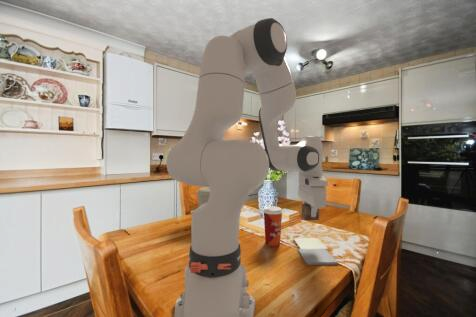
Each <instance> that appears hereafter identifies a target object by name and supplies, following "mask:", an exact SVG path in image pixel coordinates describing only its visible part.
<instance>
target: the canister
mask: <svg viewBox="0 0 476 317" xmlns="http://www.w3.org/2000/svg"><path fill="white" fill-rule="evenodd" d="M195 193H196V194H197V195H196V196H197V202H198V203H197V204H198V207H199V206H201V205H202V204H204V203H206V202H208V199H209V196H210V187H204V186H202V187H201V188H199V189H198V190H196V191H195Z"/></svg>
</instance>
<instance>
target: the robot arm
mask: <svg viewBox="0 0 476 317" xmlns="http://www.w3.org/2000/svg"><path fill="white" fill-rule="evenodd" d="M287 50H288V37H287V34H286V31H285V29H284V27H283V24H281V23H280V22H279V21H277V19H275V18H273V17H271V18H264V19H263V18H262V19H260V20H258V21H257V22H256V23H254V24H250V25H249V26H247V27H244V28H242V29H238V30H237V31H236V32H233V33H232V34H230V35H229V36H227V35H218V36H214V37H212V39H210V40H208V42H207V44H206V46H205V48H204V52H203V55H202V58H201V63H200V67H199V74H198V85H197V93H196V99H195V108H194V111H193V116H192V118H191V121H190V124H189V125H188V127H187V130H186V131H185V133H184V135H183V136H182V137H181V139H179V141H178V142H177V143H176V144H175V145H173V146H172V147H171V148H170V150H169V151H168V154H167V155H166V156H167V157H166V170H167V173H168V174H169V176H170V177H171V178H172V179H173V180H175V181H177V182H180V183H182V184H185V185H188V186H194V187H210V196H209V199H208V202H206V203H204V204H202V205H201V206H199V205H198V207H196V209H195V210H194V211H193V213H192V214H191V215H192V216H191V220H190V221H191V222H190V223H191V224H190V228H191V229H190V230H191V233H190V234H191V235H190V236H191V237H190V238H191V244H190V247H189V252H188V266H186V267H185V268H184V292H183V291H182V292H180V297H178V298H177V299H176V300H175V304H174V316H173V317H255V308H256V299H255V297H253V296H252V295H249V293H248V290H247V288H249V280H247V268H246V267H245V265H243V264H242V263H241V261H242V260H241V256H242V250H241V244H240V243H239V242H240V241H239V239H240V238H239V236H240V234H239V233H240V219H241V211H242V210H243V206H244V204H245V202H246V200H247V199H248V197H249V196H250V195H251V194H252V193H253V192H254V191H255V190H257V189H258V188H259V187H260V186H262V184H263V183H264V182H265V180H266V179H267V177H268V175H269V170H271V171H273V172H298V191H297V192H298V193H297V194H298V198H299V199H302V201H303V202H302V204H310V205H311V211H310V216H311V217H316V212H317V209H319V210H320V209H325V208H326V205H327V204H326V203H327V188H326V187H328V185H329V184H328V180H327V178H325V176H324V171H323V167H322V166H323V165H322V164H323V162H324V161H323V160H324V152H323V151H324V150H323V142H322V140H321V138H320V137H318V136H315V135H303V136H301V137H300V140H299V142H298V143H295V144H285V145H284V144H281V143H280V141H279V136H278V130H277V120H278V119H279V118H281V117H282V116H283V115H285V114H286V113H287V112H289V111H290V110H291V109H292V108H293V106H294V104H295V102H296V99H297V91H296V86H295V83H294V79H293V76H292V73H291V70H290V67H289V66H288V63H287V61H286V57H285V56H286V54H287ZM251 73H252V74H253V75H254V79H255V83H256V87H257V91H258V93H259V98H260V104H261V105H260V109H259V110H258V121H259V127H260V132H261V136H262V140H263V141H262V142H263V145H264V147H263V146H262V145H261V144H260V143H257V142H253V141H248V140H243V139H223V137H224V136H225V134H226V132H227V131H228V130H229V129H230V128H232V127H233V126H234V125H236V124H237V123H238V122H239V121H240V119H241V117H242V115H243V110H244V108H243V107H244V97H245V96H244V94H245V83H246V82H245V80H246V79H245V78H246V76H245V75H247V74H251Z"/></svg>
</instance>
